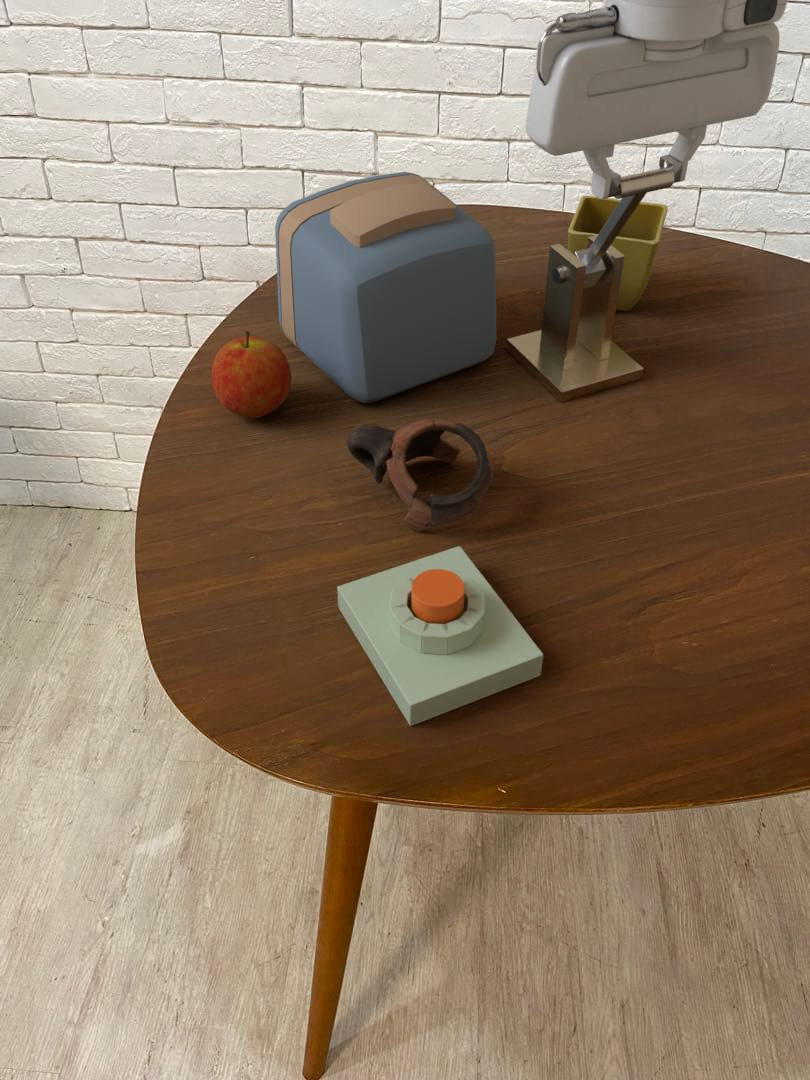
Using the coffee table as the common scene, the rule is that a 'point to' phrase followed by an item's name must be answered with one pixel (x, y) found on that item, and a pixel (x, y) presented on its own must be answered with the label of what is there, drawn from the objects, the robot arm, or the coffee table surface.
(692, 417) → the coffee table surface
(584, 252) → the lever
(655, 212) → the flower pot
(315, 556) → the coffee table surface
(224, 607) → the coffee table surface
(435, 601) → the button
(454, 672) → the button block
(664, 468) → the coffee table surface
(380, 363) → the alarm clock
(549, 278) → the bracket
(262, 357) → the fruit
